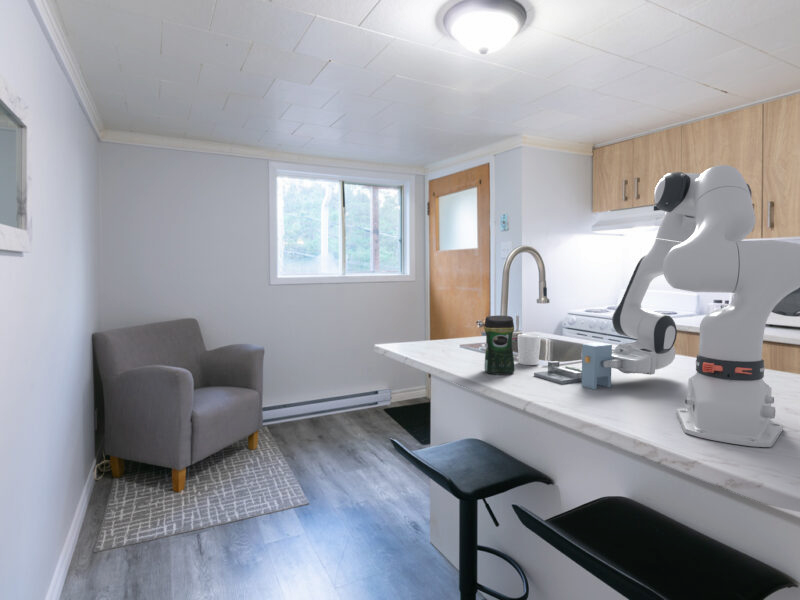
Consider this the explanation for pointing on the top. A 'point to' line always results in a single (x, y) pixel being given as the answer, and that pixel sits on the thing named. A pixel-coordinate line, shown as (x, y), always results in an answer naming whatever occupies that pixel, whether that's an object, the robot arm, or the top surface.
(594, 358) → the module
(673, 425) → the top surface
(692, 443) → the top surface
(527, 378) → the top surface
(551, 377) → the rail plate
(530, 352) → the white cup
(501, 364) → the coffee jar
